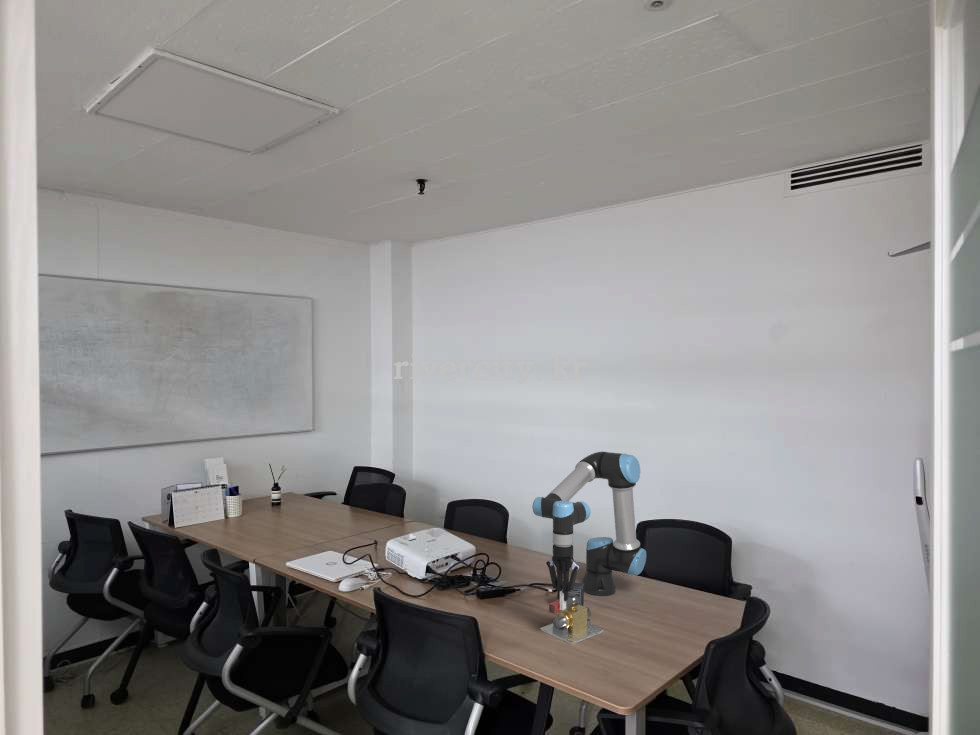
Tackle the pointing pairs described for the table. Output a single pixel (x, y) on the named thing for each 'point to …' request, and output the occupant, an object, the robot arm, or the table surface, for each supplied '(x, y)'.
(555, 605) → the lever
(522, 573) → the table surface
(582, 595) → the small box
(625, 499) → the robot arm
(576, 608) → the valve body
